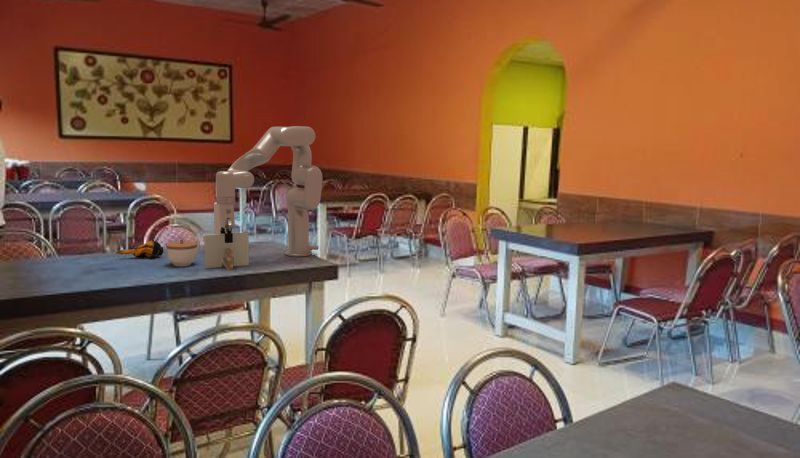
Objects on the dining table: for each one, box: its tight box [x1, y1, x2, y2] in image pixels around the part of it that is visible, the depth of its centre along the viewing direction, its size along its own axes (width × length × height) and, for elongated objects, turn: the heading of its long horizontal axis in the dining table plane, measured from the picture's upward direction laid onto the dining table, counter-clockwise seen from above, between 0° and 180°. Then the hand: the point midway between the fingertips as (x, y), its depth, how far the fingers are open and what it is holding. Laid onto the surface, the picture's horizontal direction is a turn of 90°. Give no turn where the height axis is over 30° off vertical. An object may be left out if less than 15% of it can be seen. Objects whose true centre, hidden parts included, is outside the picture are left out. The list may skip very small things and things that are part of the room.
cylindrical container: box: [213, 201, 221, 234], centre depth 278 cm, size 7×7×25 cm
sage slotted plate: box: [203, 232, 250, 269], centre depth 261 cm, size 18×2×14 cm, turn 116°
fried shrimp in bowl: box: [115, 238, 164, 260], centre depth 273 cm, size 9×11×18 cm
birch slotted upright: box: [222, 249, 234, 271], centre depth 261 cm, size 2×15×8 cm, turn 27°
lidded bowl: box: [165, 238, 198, 267], centre depth 262 cm, size 13×13×11 cm
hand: (226, 240), depth 260 cm, fingers open, 9 cm apart
